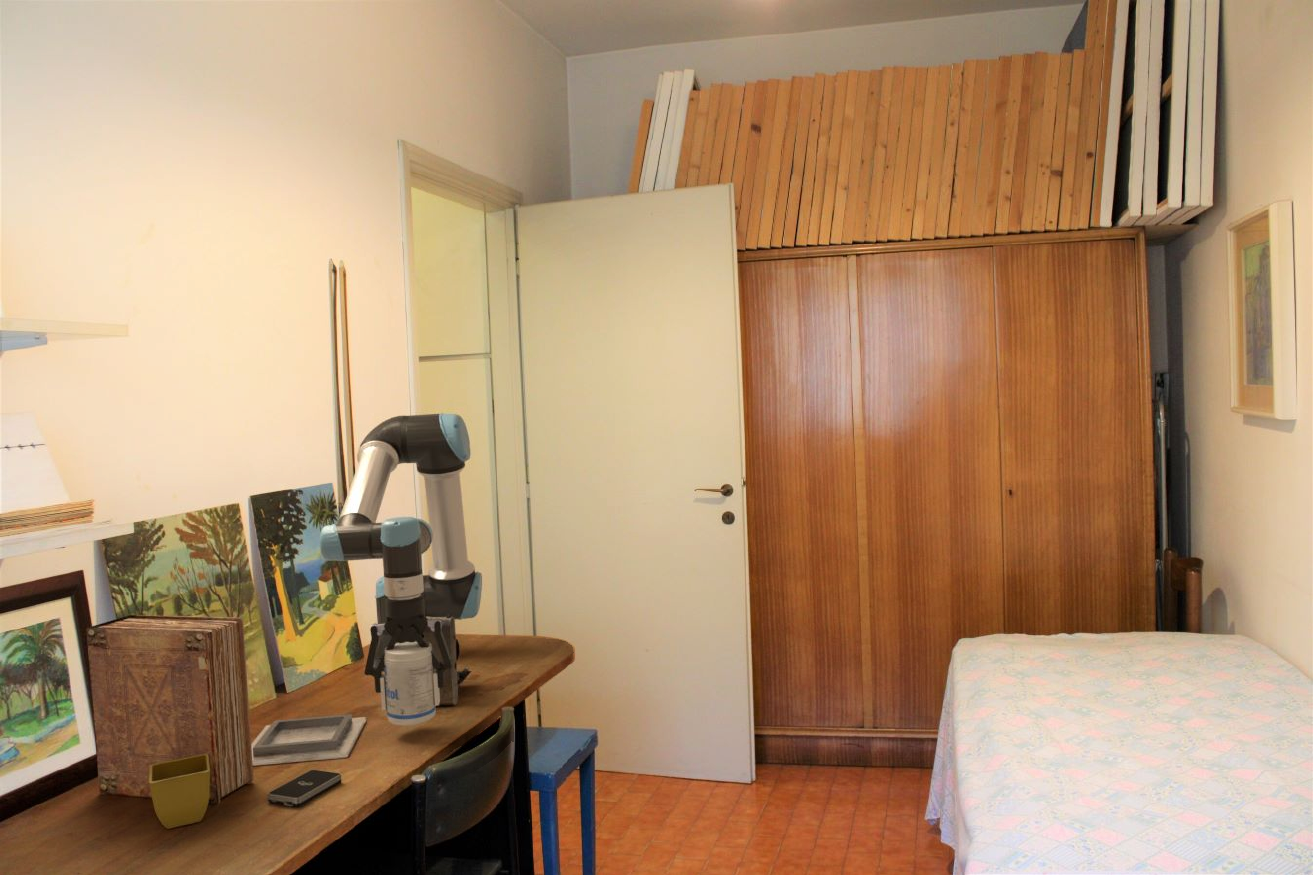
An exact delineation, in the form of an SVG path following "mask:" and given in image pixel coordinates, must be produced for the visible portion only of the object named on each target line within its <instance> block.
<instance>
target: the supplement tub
mask: <svg viewBox="0 0 1313 875" xmlns="http://www.w3.org/2000/svg"><path fill="white" fill-rule="evenodd" d="M386 648H387V647H386ZM386 648H385V657H384V658H385V659H384V663H385V670H384V674H385V686H386V705H387V709H386V718H387V720H388V721H389V723H390V724H393V725H396V726H405V727H406V726H407V727H408V726H415V725H420V724H423V723H426V722H428V721H430V720H432V719H433V718H434V717H435V716H436V714H437V713H436V712H437V708H436V706H435V699H434V682H433V673H434V666H433V665H432V656H431V655H432V654H431V651H432V644H431V643H429V647H424V648H421V646H419V645H418V643H417V642H416V641H415V642H404V643H396V644H395V646H394V648H393V650H386Z"/></svg>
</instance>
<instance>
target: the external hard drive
mask: <svg viewBox="0 0 1313 875" xmlns="http://www.w3.org/2000/svg"><path fill="white" fill-rule="evenodd" d="M341 783H342V773H341V772H335V771H328V770H320V769H314V768H313V769H309V770H307V771H305V772H304V773H302V774H301V775H299V776H296V777H295V778H293V779H291V780H289V781H287V782H285V783H283V784H282V785H280V786H278V787H276V788H274V789H273V790H270V791H269V792H268V793H267V799H268V800H267V801H268V803H269V804H272V805H273V804H274V805H276V806H277V805H279V806H284V807H289V808H291V807H292V808H301V807H303V806H305V805H306V804H308V803H309V802H311V801H313V800H315V799H317V798H318V797H320V796H321V795H323V794H325V793H327V792H328V791H330V790H332V789H333V788H335V787H337V786H338V785H340V784H341Z"/></svg>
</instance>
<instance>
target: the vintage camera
mask: <svg viewBox="0 0 1313 875" xmlns="http://www.w3.org/2000/svg"><path fill="white" fill-rule="evenodd" d="M426 618H427V619H428V620H437V619H441V620H442V632H443V635H444V638H445V641H446V644H447V647H448V650H449V653H450V656H451V659H452V662H453V663H452V666H451V668H450V669H446V670H444V686H443V687H441V688H439V692H440V703H439V705H437V707H438V706H457V704H458V701H459V686H460V684H462V683H464V681H465V680H466V679H467V678H468V676H470V674H471V673H472V670H469V668H467V667H464V668H463V669H462V670H458V666H457V661H458V659H459V656H460V649H461V647H460V642H459V639H457V636H456V635H457V634H456V632H457V631H456V620H454V617H453V616H451V615H448V616H442V617H426ZM423 633H424V635H425V636H426V639H427V641H428V642H429V643H431V644H432V648H433V650H434V651H435V653H436V654H437V656H438V657H439V659H440V660H441V662H442V663H443V662H444V661H443V658H442V655H441V652H440V649H439V646H438V643H437V640H436V637H435V633H434V632H433V631H431V628H430V627H429V626H427V627H426V629H425V630H424V632H423ZM434 670H436V669H435V668H434Z"/></svg>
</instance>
